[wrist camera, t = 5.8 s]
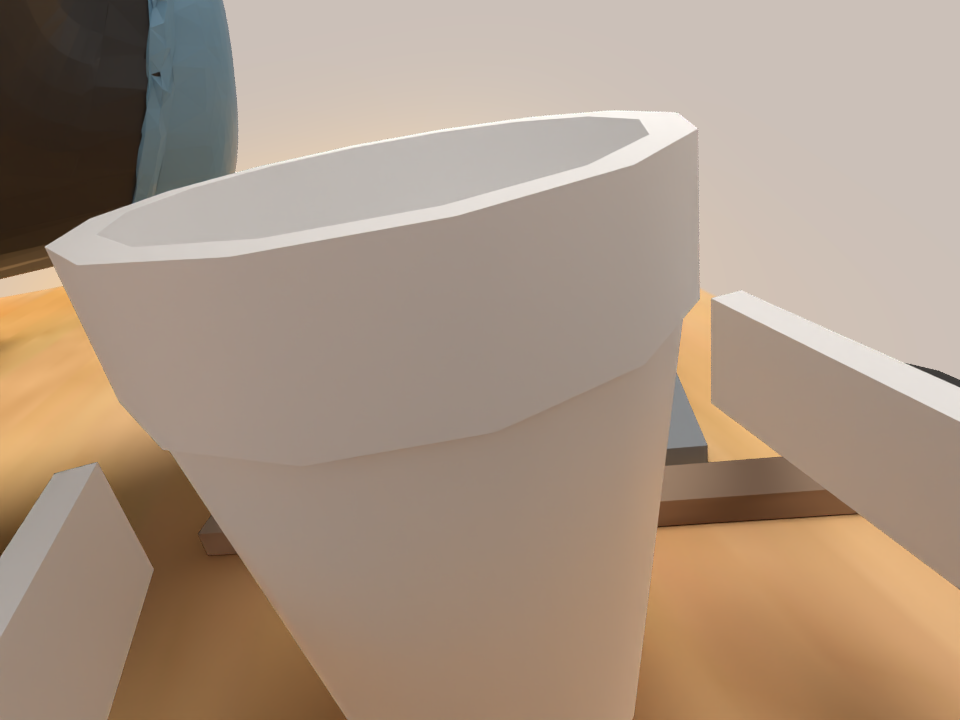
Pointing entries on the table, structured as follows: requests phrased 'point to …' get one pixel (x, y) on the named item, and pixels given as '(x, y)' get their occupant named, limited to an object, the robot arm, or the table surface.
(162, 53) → the robot arm
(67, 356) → the table surface
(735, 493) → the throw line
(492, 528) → the foam cup
